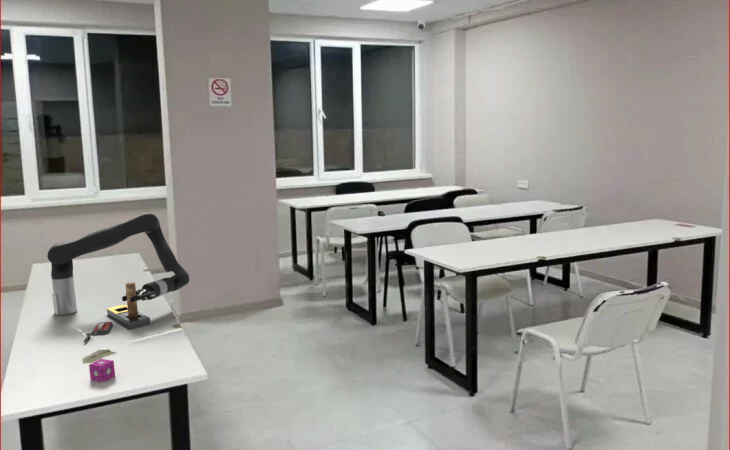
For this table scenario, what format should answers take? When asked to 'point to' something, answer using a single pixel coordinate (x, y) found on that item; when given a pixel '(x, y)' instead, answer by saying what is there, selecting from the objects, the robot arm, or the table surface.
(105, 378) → the puzzle toy
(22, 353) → the table surface
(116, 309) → the socket rail
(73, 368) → the table surface
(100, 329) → the walkie-talkie
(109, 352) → the topographic map
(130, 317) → the walnut peg
